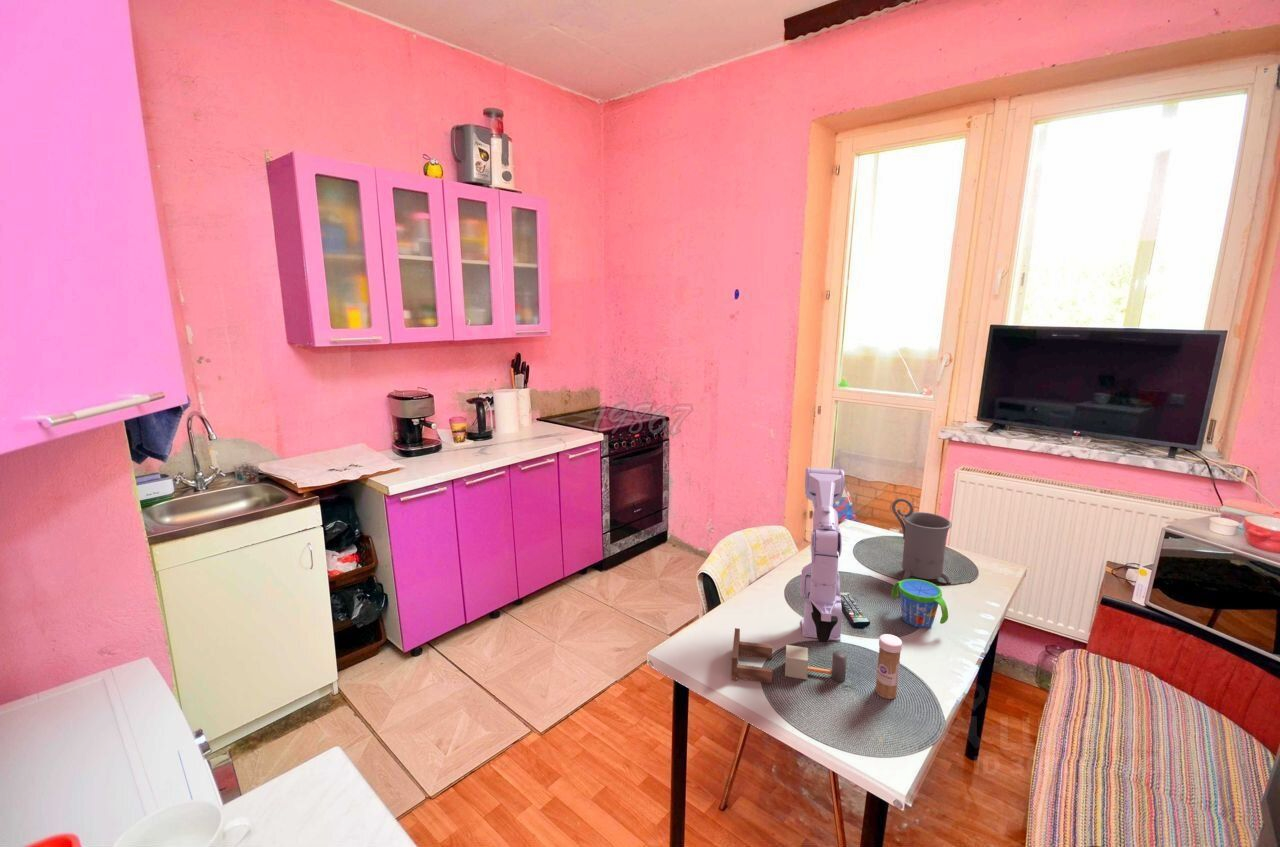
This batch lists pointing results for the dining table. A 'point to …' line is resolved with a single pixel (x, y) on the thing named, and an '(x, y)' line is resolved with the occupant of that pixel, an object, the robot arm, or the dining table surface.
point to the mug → (923, 543)
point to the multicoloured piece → (799, 667)
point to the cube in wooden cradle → (750, 650)
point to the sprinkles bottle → (888, 666)
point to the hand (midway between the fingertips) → (820, 632)
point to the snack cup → (920, 602)
